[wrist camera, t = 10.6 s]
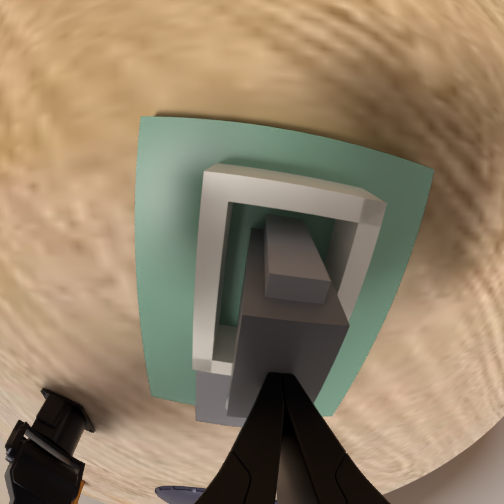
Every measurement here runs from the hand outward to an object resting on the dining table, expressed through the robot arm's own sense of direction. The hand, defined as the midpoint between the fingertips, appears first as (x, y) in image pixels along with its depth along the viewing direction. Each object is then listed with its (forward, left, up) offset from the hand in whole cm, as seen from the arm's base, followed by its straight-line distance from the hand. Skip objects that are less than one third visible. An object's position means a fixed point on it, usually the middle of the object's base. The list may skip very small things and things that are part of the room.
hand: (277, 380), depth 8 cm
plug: (0, 0, -7) cm, 7 cm away
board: (-3, 0, -8) cm, 9 cm away
